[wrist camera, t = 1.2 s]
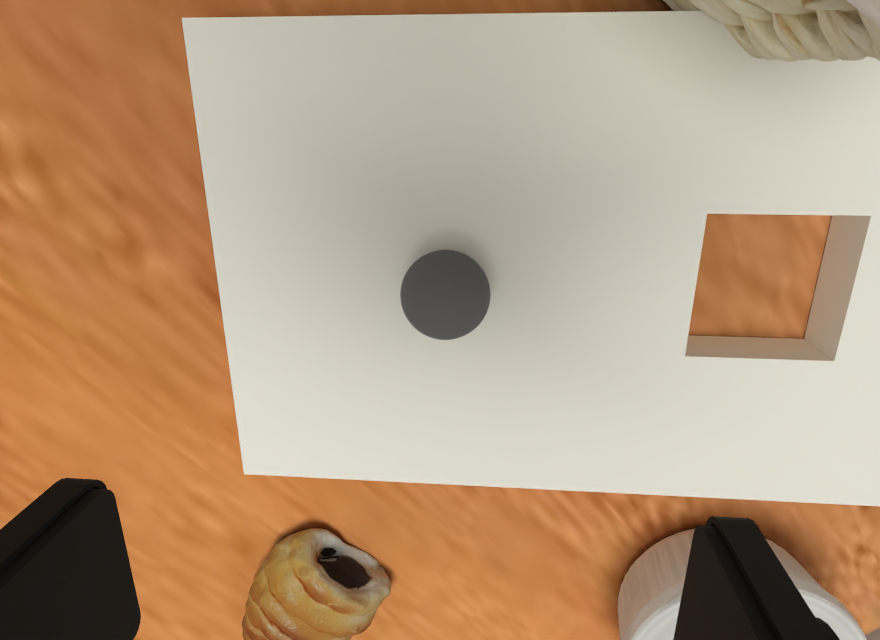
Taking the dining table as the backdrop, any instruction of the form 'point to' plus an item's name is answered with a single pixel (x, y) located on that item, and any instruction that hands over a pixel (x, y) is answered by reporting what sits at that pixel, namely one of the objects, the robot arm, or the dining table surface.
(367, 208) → the board
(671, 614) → the ramekin
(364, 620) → the pastry
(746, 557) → the robot arm
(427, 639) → the dining table surface
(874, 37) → the storage basket
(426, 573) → the dining table surface
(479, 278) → the ball
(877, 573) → the dining table surface
